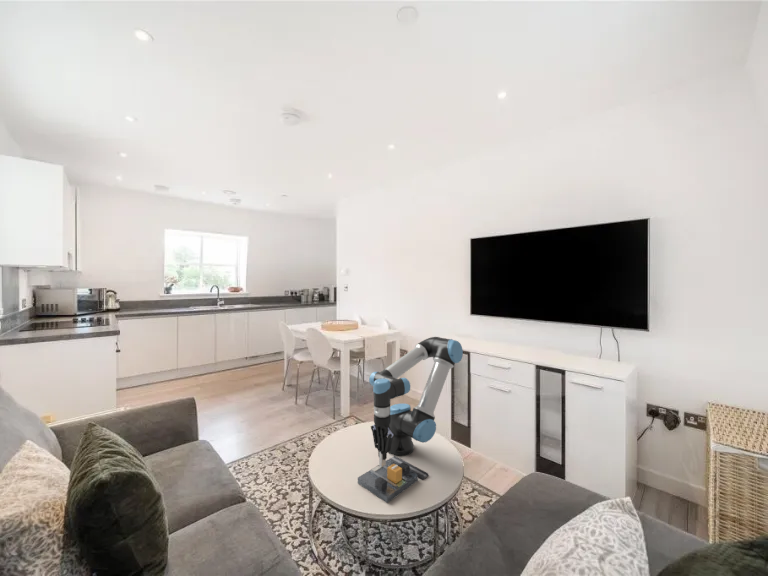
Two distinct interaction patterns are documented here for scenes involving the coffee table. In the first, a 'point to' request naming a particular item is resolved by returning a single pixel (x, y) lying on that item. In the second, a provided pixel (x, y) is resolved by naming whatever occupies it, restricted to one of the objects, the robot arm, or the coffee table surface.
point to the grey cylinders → (413, 469)
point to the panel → (387, 481)
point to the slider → (394, 473)
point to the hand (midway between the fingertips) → (382, 465)
